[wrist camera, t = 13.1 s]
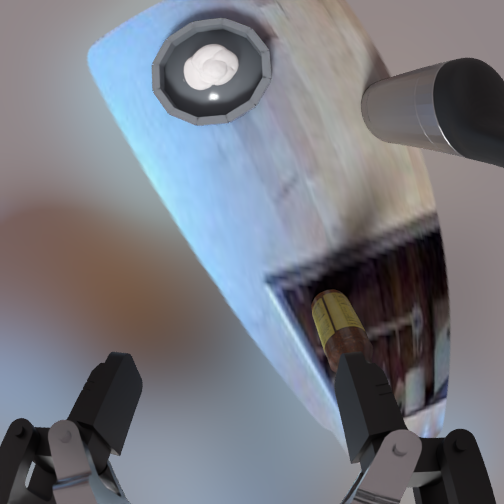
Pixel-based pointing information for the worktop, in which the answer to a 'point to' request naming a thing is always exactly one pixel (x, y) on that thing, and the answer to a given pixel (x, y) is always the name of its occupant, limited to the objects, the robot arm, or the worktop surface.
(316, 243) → the worktop surface
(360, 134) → the worktop surface
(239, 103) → the round dish
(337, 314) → the sauce bottle
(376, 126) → the robot arm
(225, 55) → the dumpling
